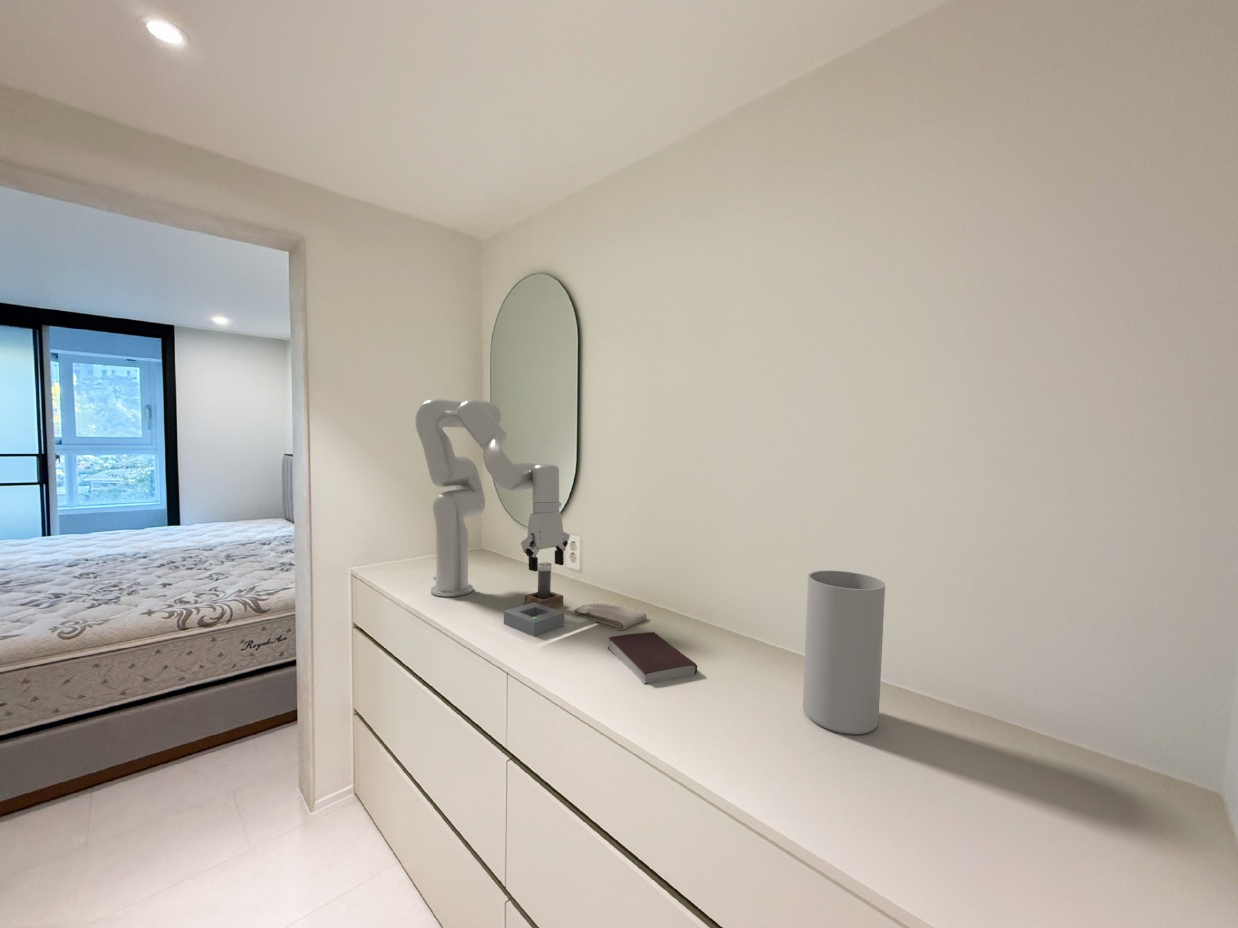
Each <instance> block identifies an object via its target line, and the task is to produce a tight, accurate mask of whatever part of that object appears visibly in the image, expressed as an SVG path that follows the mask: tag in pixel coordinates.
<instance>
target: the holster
mask: <svg viewBox="0 0 1238 928" xmlns="http://www.w3.org/2000/svg"><path fill="white" fill-rule="evenodd" d="M533 602H535V603H538V604H540V605H543V606H546V607H549V608H552V609H556V608H559V607H563V606H564V595H563V594H559V593H557V592H553V591H551V590H550V598H547V599H540V598H538V591H536V592H532V593H528V594H524V605H526V604H530V603H533Z"/></svg>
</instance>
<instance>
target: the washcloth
mask: <svg viewBox="0 0 1238 928" xmlns="http://www.w3.org/2000/svg"><path fill="white" fill-rule="evenodd" d="M573 611H574V612H573V613H572V615H573V614H574V615H577V616H580V617H583V618H587V619H590V620H592V621H596V622H595V624H596V625H600V626H603V627H607V628H611V629H614V630H616V631H617V630H618V631H624V630H627V629H629V628H631V626H634V625H637V624H639V623H642V622H643V621H646V619H647V618H648V617H647V613H646V612H644V611H642V610H638V609H634V608H631V607H628V606H625V605H621V604H617V603H612V602H608V601H606V600H602V599H601V600H600V599H598V600H594V601H593V602H591V603H589V604H583V605H581V606H579V607H577V608H574V609H573Z"/></svg>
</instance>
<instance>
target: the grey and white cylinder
mask: <svg viewBox="0 0 1238 928" xmlns="http://www.w3.org/2000/svg"><path fill="white" fill-rule="evenodd" d="M551 581H552V563H551V562H547V561H546V562H543V561H542V562H539V563H538V571H537V592H538V598H540V599H547V598H550V591H551V587H552V586H551V585H552V584H551Z"/></svg>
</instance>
